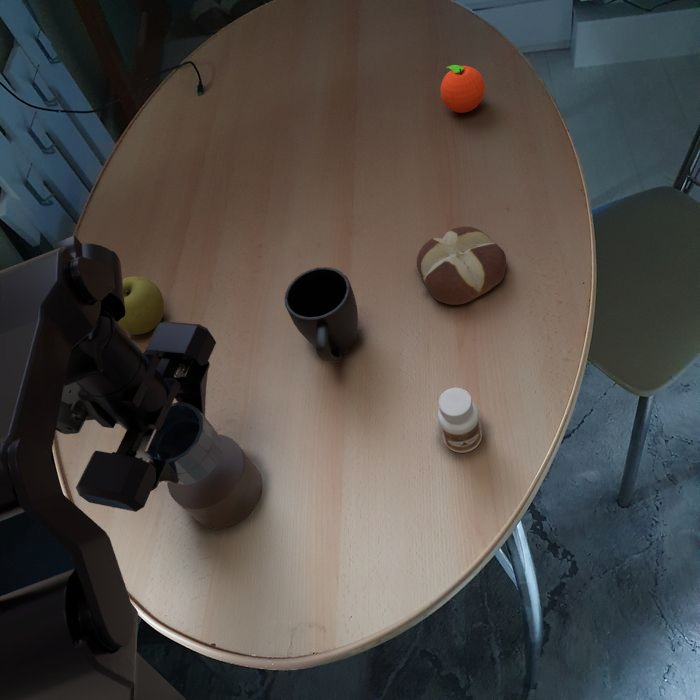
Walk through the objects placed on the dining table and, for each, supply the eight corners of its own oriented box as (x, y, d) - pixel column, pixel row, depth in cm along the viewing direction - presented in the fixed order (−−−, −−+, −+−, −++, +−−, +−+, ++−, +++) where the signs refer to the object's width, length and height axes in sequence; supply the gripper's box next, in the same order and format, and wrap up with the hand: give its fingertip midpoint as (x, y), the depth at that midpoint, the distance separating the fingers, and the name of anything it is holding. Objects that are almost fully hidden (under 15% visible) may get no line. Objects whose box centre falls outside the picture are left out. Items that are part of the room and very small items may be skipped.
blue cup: (210, 491, 68) (187, 468, 64) (153, 481, 71) (127, 458, 66) (233, 431, 72) (212, 406, 67) (178, 424, 74) (155, 398, 70)
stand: (247, 535, 75) (226, 515, 70) (178, 521, 78) (154, 501, 73) (272, 462, 80) (254, 438, 75) (206, 452, 83) (185, 429, 78)
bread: (437, 317, 86) (432, 293, 82) (410, 258, 93) (404, 233, 89) (520, 287, 86) (519, 261, 82) (486, 230, 93) (483, 203, 89)
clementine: (430, 107, 111) (424, 69, 106) (464, 87, 112) (459, 47, 107) (461, 127, 107) (456, 88, 101) (495, 106, 108) (492, 66, 102)
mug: (306, 394, 84) (282, 351, 77) (306, 319, 91) (284, 273, 84) (370, 384, 83) (352, 339, 75) (365, 308, 90) (348, 260, 82)
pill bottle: (449, 458, 75) (440, 425, 69) (438, 425, 77) (429, 390, 71) (487, 447, 74) (482, 412, 68) (475, 414, 77) (469, 378, 71)
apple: (183, 313, 97) (161, 281, 92) (143, 352, 95) (117, 322, 89) (153, 293, 101) (129, 261, 96) (113, 330, 99) (87, 299, 93)
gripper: (84, 279, 65) (158, 367, 77) (-20, 453, 56) (84, 521, 68) (183, 285, 61) (244, 377, 74) (90, 472, 52) (178, 541, 64)
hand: (187, 449), depth 70 cm, fingers closed on blue cup, 7 cm apart
